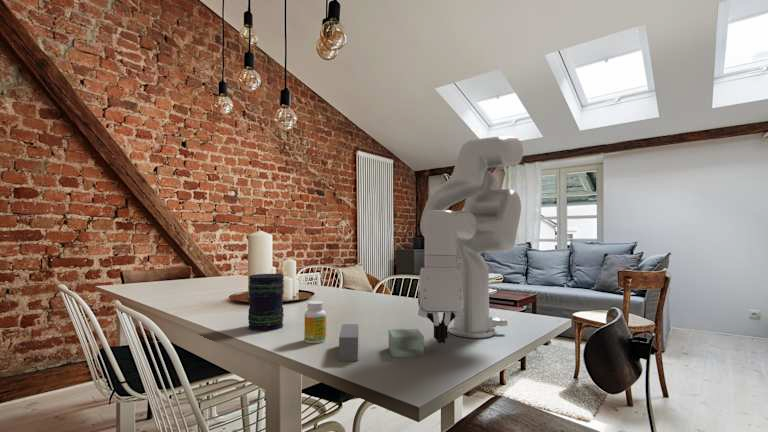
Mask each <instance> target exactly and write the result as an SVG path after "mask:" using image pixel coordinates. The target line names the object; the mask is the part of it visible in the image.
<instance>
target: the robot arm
mask: <svg viewBox="0 0 768 432" xmlns="http://www.w3.org/2000/svg"><path fill="white" fill-rule="evenodd" d="M459 150H460V151H459V153H458V156H457V159H456V162H455V165H454V169H453V170H452V171H453V172H452V175H451V178H450V179H448V180H446V181H445V182H444V183H442V184H441V185H440V186H439V187H438V188H437V189H436V190H435V191H433V192H432V193H431V195H430V196H429V197H428V199H427V201H426V202H425V206H424V208H423V211H422V214H421V217H420V222H419V223H420V232H421V235H422V236H423V237H424V267H421V268H420V272H419V278H418V291H417V292H418V293H417V304H418V305H417V306H418V309H417V315H418V317H422V318H425V319H429V321H430V322H432V323H433V338H434V339H435V340H436V342H437V343H438V344H441V343H442V344H446V340H447V339H448V337H449V336H448V335H449V334H452V335H453V336H457V337H461V338H471V339H485V338H490V337H493V336H494V335H496V329H495V328H496V327H507V326H508V321H507V319H506V318H499V317H492V316H491V315H490V283H489V281H490V275H489V274H490V273H489V266H488V263H487V262H486V261H485V259H484V258H483V256H482V255H481V254H480V253H489V254H490V253H493V254H495V253H496V254H497V253H498V254H499V253H501V254H502V253H508V252H510V251H511V250H513V248H514V246H515V243H516V242H515V241H516V238H517V234H518V229H519V223H520V220H521V214H522V213H521V212H522V201H521V198H520V195H519V193H518V192H517V191H515V190H513V189H509V188H501V187H500V186H501V185H500V184H501V183H500V181H499V180H498V178H497V177H496V176H495V174H493V173H492V172H491V171H489V170H488V169H491V168H502V167H514V166H518V165H519V164H520V163H521V162H522V159H523V156H524V147H523V144H522V142H521V141H520V138H518V137H516V136H505V135H504V136H502V135H501V136H500V135H499V136H492V137H491V136H490V137H483V138H476V139H471V140H470V139H469V140H467V141H466V142H465V143H463V144H462V145H461V147H460V149H459ZM500 188H501V189H500ZM464 200H465V202H464V206H463V208H464V209H463V210H451V209H450V210H449V209H447V208H450V207H451V206H452V205H454V204H457V203H458V202H459V203H460V202H462V201H464ZM439 313H442V317H441V321H440V318H439ZM451 322H453V324H451ZM448 332H449V333H448Z"/></svg>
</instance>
